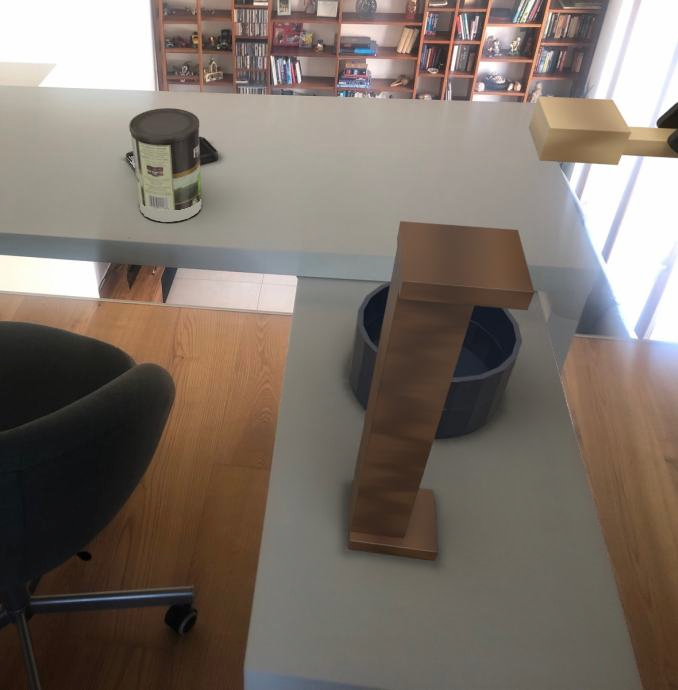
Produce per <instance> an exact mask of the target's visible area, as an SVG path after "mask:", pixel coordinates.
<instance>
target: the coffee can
mask: <svg viewBox="0 0 678 690" xmlns="http://www.w3.org/2000/svg"><path fill="white" fill-rule="evenodd" d="M128 127H129V132H130V137H131V145H132V151H133V155H134V163H135V172H136V173H135V172H134V173H135V179H136V186H137V187H136V188H137V197H138V202H139V201H140V203H142V204H143V205H144V206H146V207H148V208H151V209H155V210H161V211H174V210H181V209H185V208H188V207H191V206H193V205H195V204H196V203H198V202H199V201H200V199H201V196H202V174H201V164H200V148H199V137H200V120H199V118H198V116H197V115H196V114H194V113H193V112H191V111H188V110H186V109H181V108H174V107H173V108H169V107H165V108H155V109H149V110H146V111H143V112H141V113H139V114H137V115H135V116H134V117H133V118H132V119H131V120H130V121H129V125H128Z"/></svg>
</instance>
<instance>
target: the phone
mask: <svg viewBox="0 0 678 690" xmlns="http://www.w3.org/2000/svg"><path fill="white" fill-rule="evenodd" d="M199 148H200V165H202V164H207V163H212V162H215V161H217V160H218V159H219V151H218V150H217V149H216V148H215V147H214V146H213V145H212V144H211V143H210V141H208V139H207V138H205V137H204V136H199ZM129 156H130V157H131V156H134V155H133V150H130V151H128V152H127V153H126V154H125V158H126V159H125V160H126V162H127V164H128V166H130V168H131V169H132V170H133V172H134V173H135V174H136V172H135V168H134V167H133V165H132V164H131V163H130V161H131V162H132V160H131V159H130V158H129ZM127 158H128V159H129V160H130V161H129V160H128V159H127Z"/></svg>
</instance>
